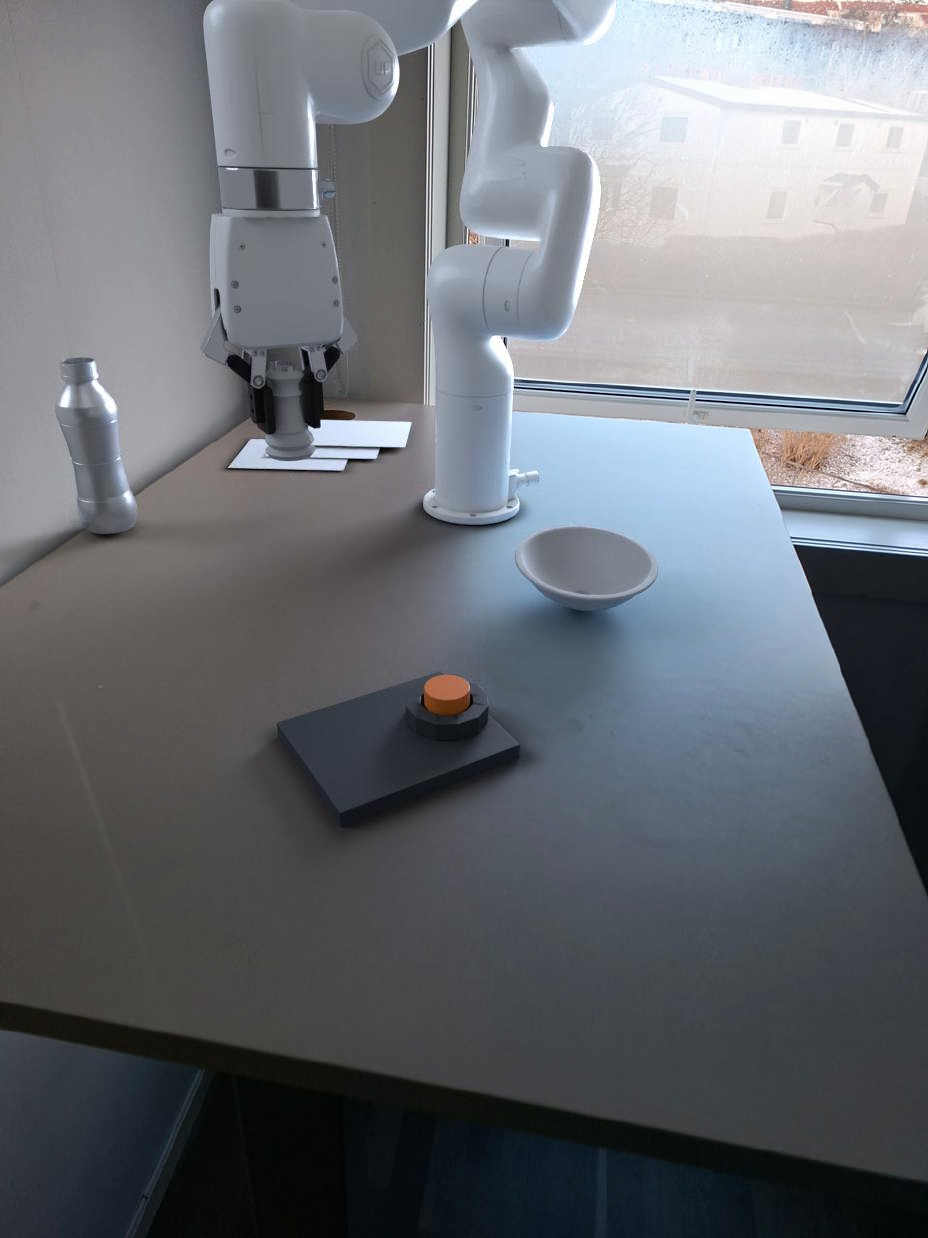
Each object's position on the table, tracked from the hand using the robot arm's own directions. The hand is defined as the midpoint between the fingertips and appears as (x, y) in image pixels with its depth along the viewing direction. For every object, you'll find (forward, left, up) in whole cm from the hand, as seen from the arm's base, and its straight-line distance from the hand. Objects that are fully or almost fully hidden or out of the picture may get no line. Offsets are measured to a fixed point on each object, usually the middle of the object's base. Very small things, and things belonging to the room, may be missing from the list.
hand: (288, 425), depth 74 cm
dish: (-26, +11, -20) cm, 35 cm away
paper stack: (-24, -50, -19) cm, 59 cm away
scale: (+2, +23, -19) cm, 30 cm away
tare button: (-3, +23, -17) cm, 29 cm away
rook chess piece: (0, 0, -3) cm, 3 cm away
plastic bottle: (+12, -32, -20) cm, 39 cm away
